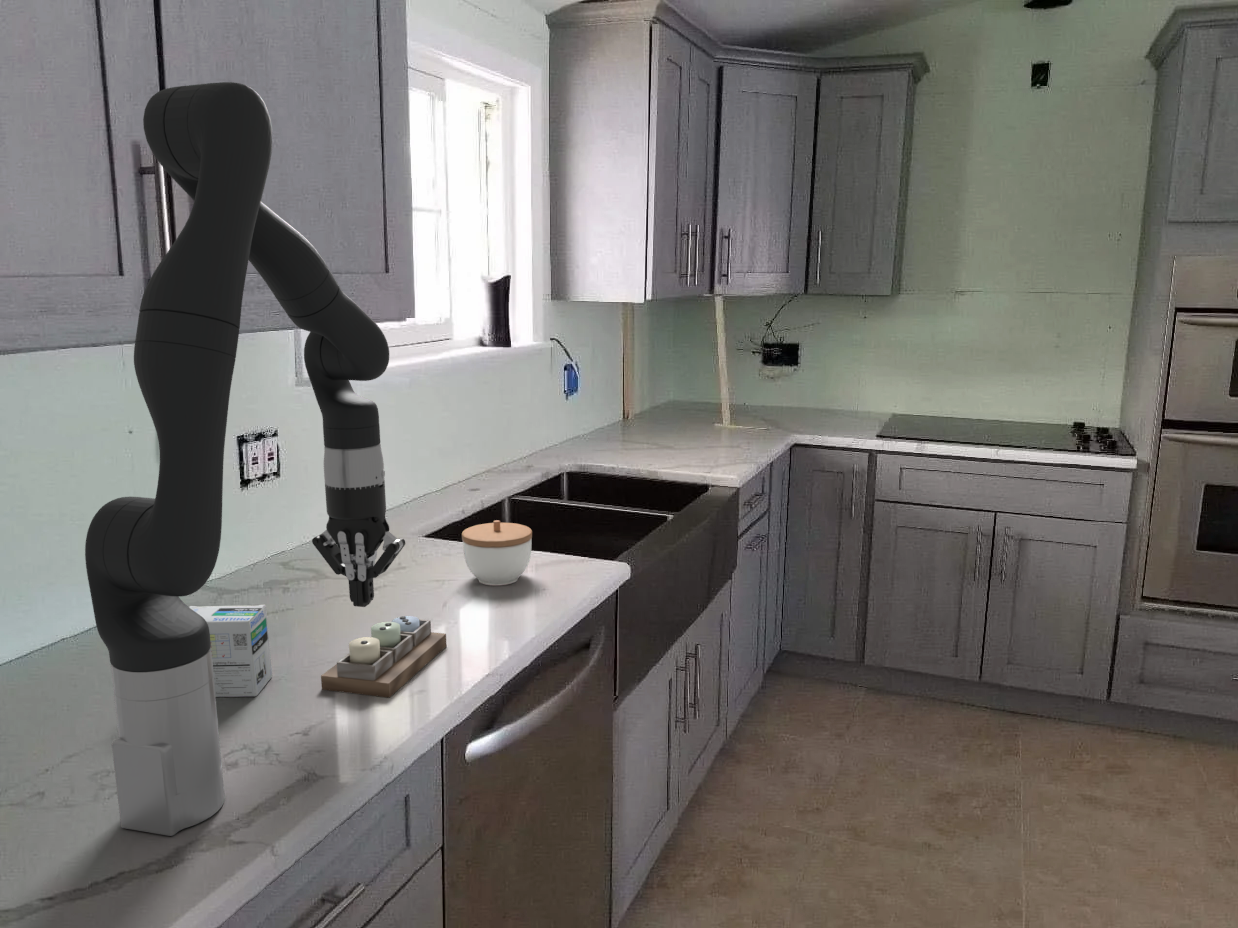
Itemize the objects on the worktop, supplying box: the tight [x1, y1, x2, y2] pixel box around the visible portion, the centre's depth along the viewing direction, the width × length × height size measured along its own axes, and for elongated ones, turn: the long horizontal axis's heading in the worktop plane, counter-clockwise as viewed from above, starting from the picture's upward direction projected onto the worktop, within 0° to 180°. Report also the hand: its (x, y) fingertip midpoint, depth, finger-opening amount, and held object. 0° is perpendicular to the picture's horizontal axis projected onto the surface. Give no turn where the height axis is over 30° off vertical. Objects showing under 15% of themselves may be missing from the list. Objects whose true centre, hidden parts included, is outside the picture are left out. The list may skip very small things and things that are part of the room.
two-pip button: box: [370, 621, 401, 648], centre depth 134 cm, size 4×4×3 cm
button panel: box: [320, 616, 447, 699], centre depth 135 cm, size 18×10×4 cm, turn 166°
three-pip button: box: [391, 615, 420, 632], centre depth 140 cm, size 4×4×3 cm
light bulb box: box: [188, 604, 273, 698], centre depth 127 cm, size 11×7×11 cm, turn 92°
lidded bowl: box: [461, 519, 533, 587], centre depth 172 cm, size 13×13×11 cm
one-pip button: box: [348, 636, 380, 665], centre depth 128 cm, size 4×4×3 cm
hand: (362, 604), depth 127 cm, fingers closed
